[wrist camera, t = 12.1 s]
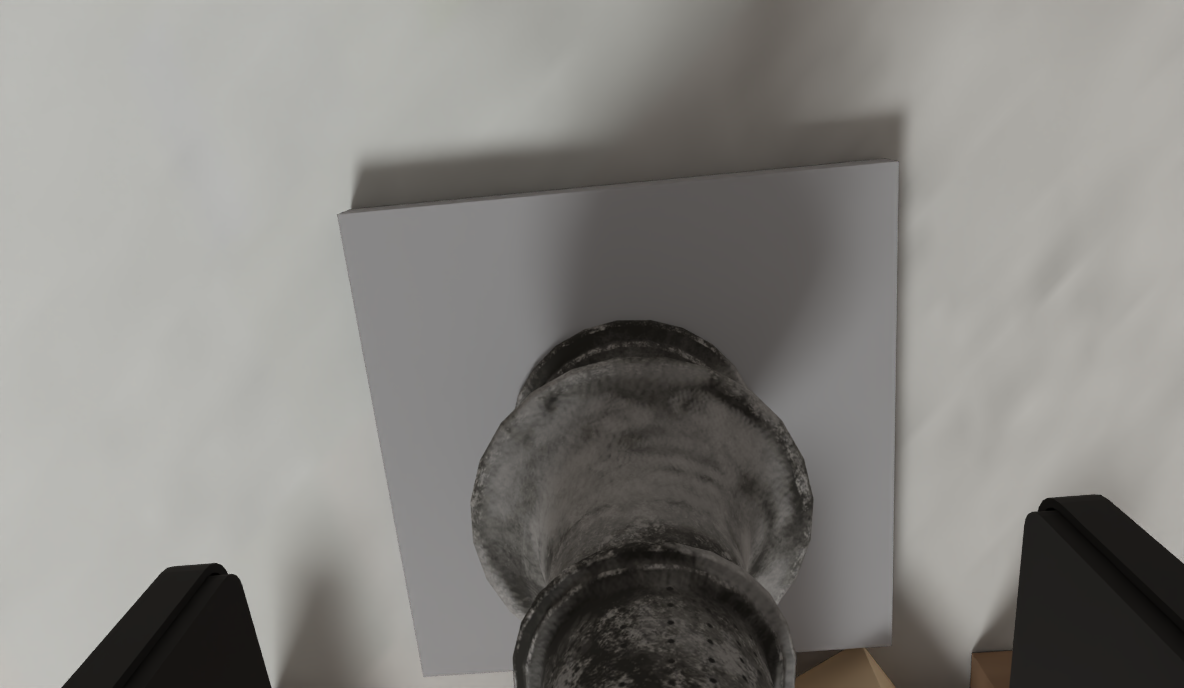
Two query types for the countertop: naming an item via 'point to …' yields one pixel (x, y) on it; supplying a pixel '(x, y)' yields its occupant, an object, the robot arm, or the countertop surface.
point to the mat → (636, 292)
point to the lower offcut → (846, 672)
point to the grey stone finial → (643, 517)
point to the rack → (991, 669)
